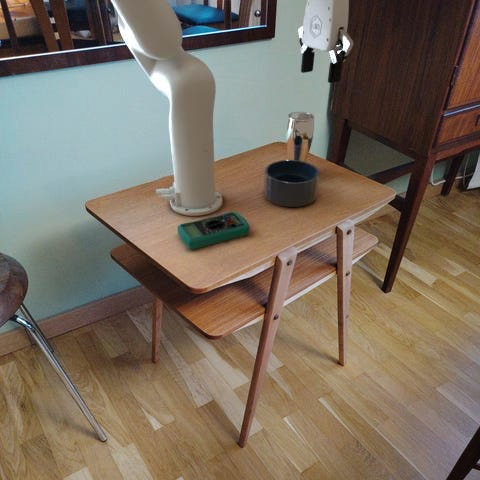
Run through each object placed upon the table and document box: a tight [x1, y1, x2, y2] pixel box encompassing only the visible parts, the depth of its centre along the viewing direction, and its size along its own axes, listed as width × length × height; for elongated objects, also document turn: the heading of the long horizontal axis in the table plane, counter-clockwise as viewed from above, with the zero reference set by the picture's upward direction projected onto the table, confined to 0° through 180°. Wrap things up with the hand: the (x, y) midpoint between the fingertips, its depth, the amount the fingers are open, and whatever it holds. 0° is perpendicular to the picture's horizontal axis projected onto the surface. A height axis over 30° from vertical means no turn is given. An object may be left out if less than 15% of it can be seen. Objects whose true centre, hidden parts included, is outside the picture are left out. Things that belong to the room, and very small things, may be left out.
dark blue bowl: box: [263, 159, 320, 208], centre depth 110 cm, size 13×13×6 cm
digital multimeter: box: [177, 211, 250, 250], centre depth 97 cm, size 7×15×3 cm, turn 117°
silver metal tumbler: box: [285, 111, 315, 163], centre depth 116 cm, size 7×7×15 cm
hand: (319, 76), depth 104 cm, fingers open, 9 cm apart
